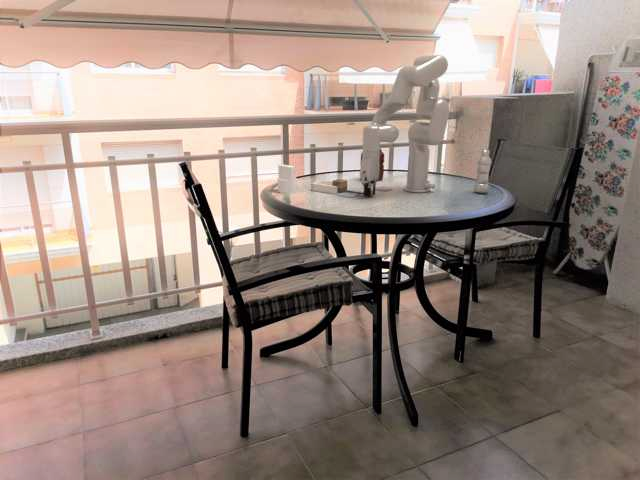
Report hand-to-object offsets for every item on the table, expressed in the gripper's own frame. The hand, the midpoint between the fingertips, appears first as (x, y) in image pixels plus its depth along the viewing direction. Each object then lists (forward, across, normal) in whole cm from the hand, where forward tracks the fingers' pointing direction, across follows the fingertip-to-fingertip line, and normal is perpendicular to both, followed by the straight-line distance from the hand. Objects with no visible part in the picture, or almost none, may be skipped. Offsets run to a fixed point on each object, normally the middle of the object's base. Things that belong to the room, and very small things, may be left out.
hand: (369, 195), depth 213 cm
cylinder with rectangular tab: (+1, +13, -36) cm, 39 cm away
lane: (+1, 0, -22) cm, 22 cm away
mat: (+1, 0, -10) cm, 10 cm away
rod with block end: (0, 0, -8) cm, 8 cm away
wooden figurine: (+1, -34, -18) cm, 38 cm away
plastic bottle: (+1, -38, +38) cm, 54 cm away
